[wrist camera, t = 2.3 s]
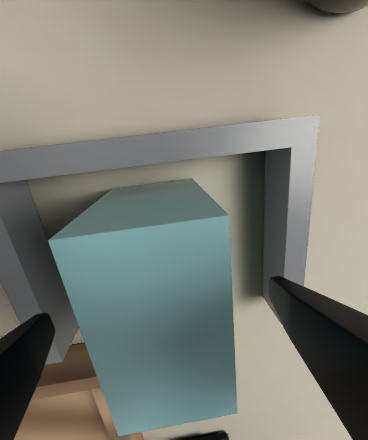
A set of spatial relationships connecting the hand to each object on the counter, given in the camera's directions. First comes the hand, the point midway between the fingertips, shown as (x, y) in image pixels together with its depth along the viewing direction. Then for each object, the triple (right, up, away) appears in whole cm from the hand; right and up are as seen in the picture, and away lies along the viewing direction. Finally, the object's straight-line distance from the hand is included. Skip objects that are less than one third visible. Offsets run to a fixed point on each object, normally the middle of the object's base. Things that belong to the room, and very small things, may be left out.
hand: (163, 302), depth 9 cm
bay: (-1, +2, +5) cm, 5 cm away
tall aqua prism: (-1, +2, +5) cm, 5 cm away
